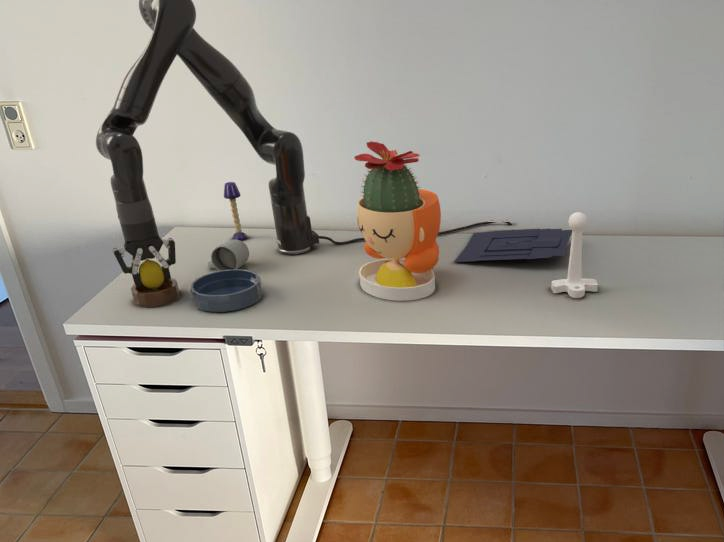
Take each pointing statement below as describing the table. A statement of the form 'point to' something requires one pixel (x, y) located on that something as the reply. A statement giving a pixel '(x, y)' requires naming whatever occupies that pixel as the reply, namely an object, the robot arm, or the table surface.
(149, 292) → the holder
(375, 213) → the potted cactus
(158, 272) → the lemon
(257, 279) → the bowl
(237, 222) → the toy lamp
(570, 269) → the joystick
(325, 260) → the table surface
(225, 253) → the ceramic mug
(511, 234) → the dark blue flat board
